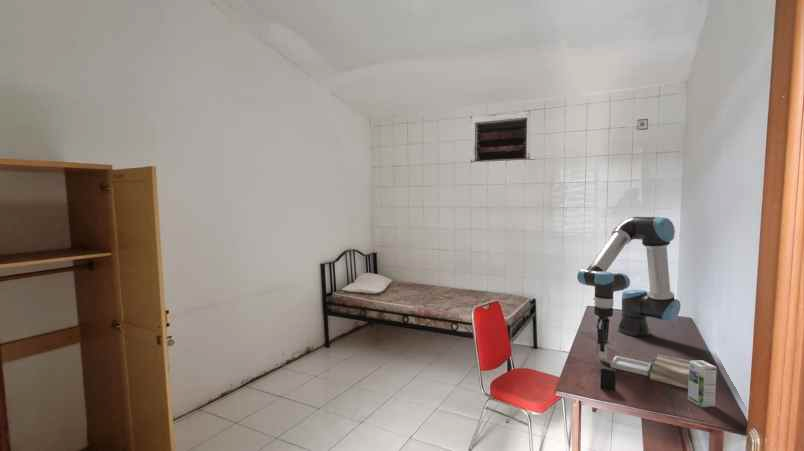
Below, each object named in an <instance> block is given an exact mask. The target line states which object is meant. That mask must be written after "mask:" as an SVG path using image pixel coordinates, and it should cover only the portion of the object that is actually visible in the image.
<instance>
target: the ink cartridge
mask: <svg viewBox="0 0 804 451" xmlns="http://www.w3.org/2000/svg"><path fill="white" fill-rule="evenodd" d="M599 383H600V384H599V385H600V386H599V387H600V388H601V389H603V390H607V391H611V392H615V390H616V388H617V386H616V385H617V370H616V368H612V367H607V366H601V368H600V382H599Z"/></svg>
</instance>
